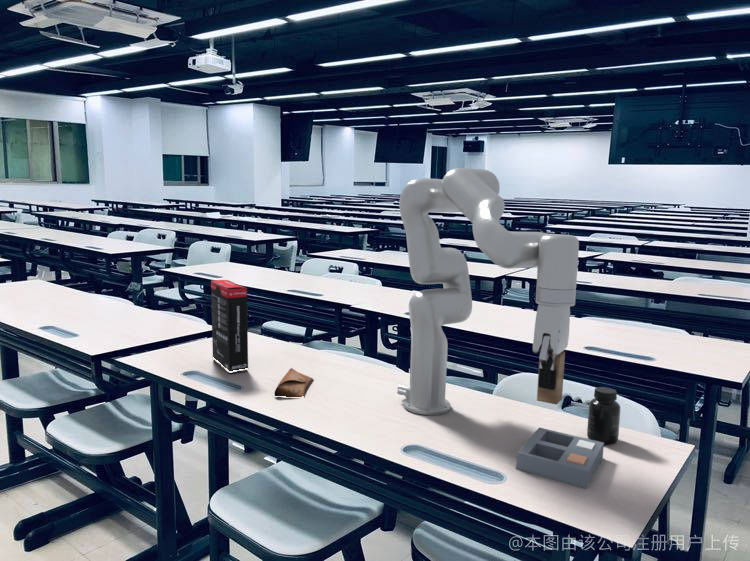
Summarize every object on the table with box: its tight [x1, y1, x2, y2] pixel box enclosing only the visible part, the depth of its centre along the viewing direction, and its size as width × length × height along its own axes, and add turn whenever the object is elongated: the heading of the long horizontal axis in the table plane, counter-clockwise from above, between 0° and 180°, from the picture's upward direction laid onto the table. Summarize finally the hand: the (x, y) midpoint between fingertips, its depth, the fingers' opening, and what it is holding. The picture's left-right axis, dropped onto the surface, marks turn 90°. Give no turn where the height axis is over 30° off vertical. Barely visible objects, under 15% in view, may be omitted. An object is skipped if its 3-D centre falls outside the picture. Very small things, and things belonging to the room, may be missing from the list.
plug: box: [536, 350, 566, 405], centre depth 112 cm, size 4×4×10 cm
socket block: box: [515, 427, 605, 489], centre depth 117 cm, size 14×16×4 cm
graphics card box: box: [210, 279, 249, 371], centre depth 176 cm, size 17×7×27 cm, turn 34°
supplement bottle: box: [586, 386, 621, 446], centre depth 129 cm, size 7×7×12 cm
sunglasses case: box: [274, 367, 314, 397], centre depth 159 cm, size 18×7×7 cm, turn 178°
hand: (550, 384), depth 113 cm, fingers closed on plug, 4 cm apart
